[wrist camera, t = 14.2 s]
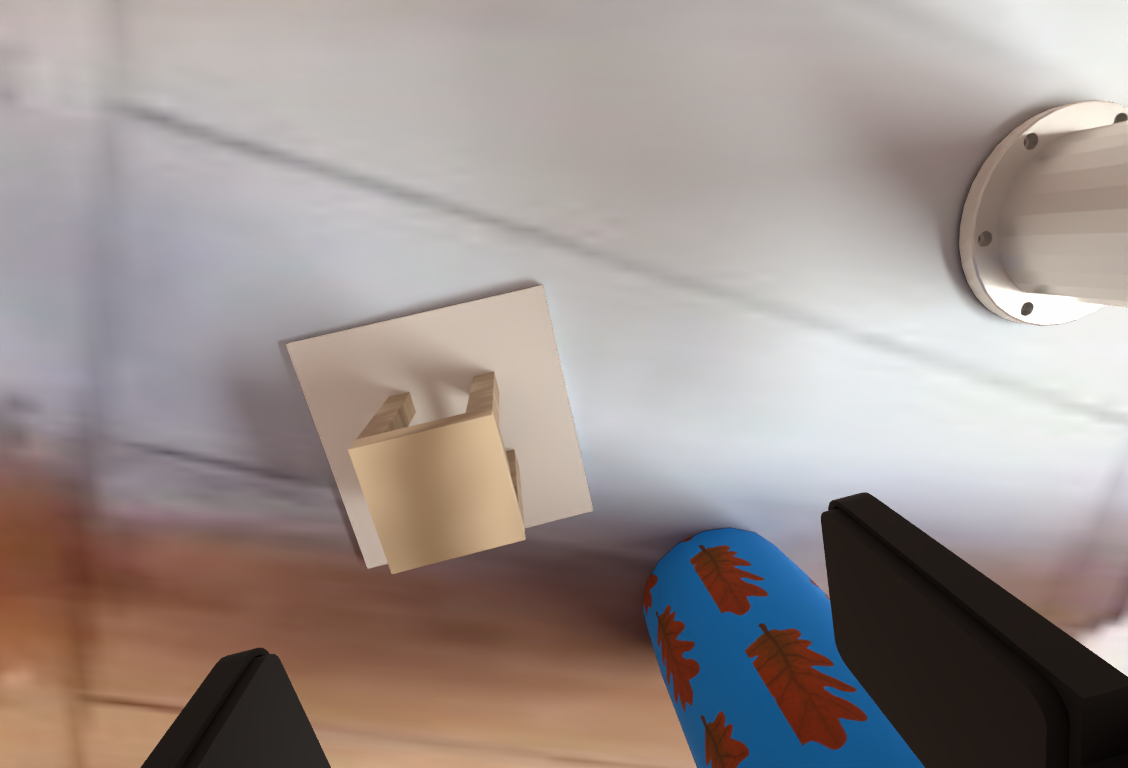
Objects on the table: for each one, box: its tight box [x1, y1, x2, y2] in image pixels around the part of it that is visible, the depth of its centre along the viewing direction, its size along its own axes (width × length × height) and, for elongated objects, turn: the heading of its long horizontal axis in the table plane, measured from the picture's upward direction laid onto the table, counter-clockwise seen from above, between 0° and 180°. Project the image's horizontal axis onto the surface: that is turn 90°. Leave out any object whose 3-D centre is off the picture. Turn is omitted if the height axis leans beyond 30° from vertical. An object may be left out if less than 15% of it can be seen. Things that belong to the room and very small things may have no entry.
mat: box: [286, 285, 593, 569], centre depth 30 cm, size 14×14×1 cm
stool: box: [348, 372, 526, 574], centre depth 26 cm, size 6×6×8 cm
